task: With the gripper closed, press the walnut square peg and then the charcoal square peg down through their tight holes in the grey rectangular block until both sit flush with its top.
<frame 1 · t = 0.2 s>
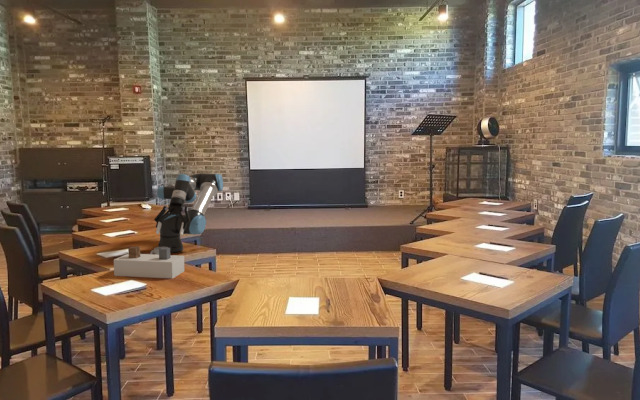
hand: (169, 234, 258), 16 cm above the table, tool tilted 35°, fingers open, 13 cm apart
grey rectangular block: (150, 273, 238), on the table
cup: (159, 264, 256), on the table
walnut peg: (134, 260, 238), point 6 cm above the table, slide at 0.0 cm
charcoal peg: (164, 262, 236), point 6 cm above the table, slide at 0.0 cm
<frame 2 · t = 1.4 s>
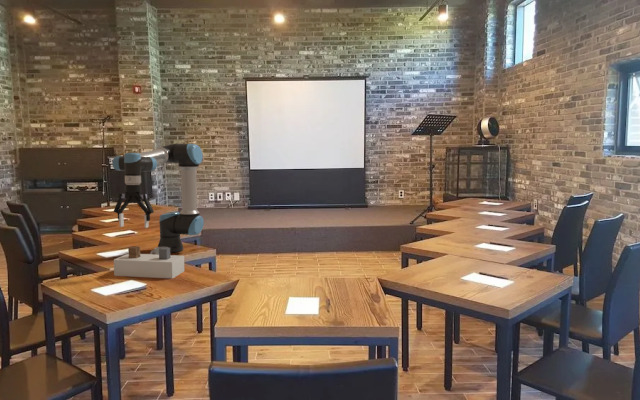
hand: (134, 227, 237), 23 cm above the table, tool pointing down, fingers open, 12 cm apart
nothing on the table moved.
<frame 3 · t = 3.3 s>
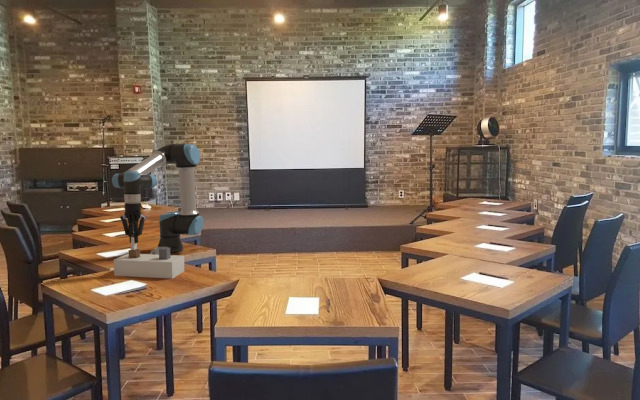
hand: (134, 249, 237), 12 cm above the table, tool pointing down, fingers closed
walnut peg: (134, 263, 238), point 5 cm above the table, slide at 1.3 cm, touching gripper
everything else where it was.
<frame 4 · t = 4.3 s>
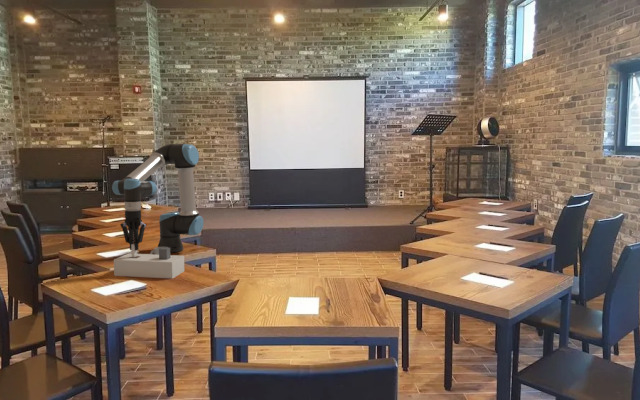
hand: (134, 256, 238), 8 cm above the table, tool pointing down, fingers closed
walnut peg: (135, 270, 239), point 1 cm above the table, slide at 5.0 cm, touching gripper
everything else where it was.
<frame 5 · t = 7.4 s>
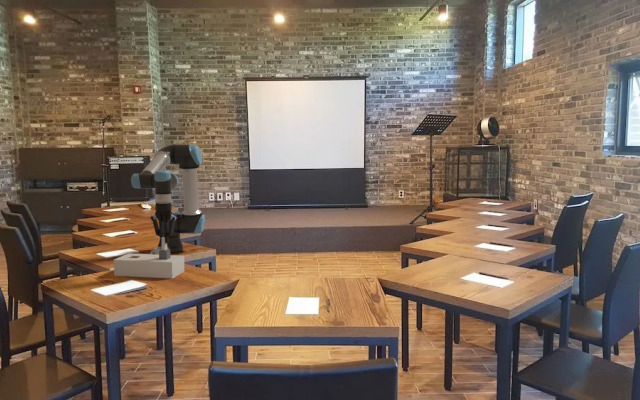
hand: (164, 249, 235), 12 cm above the table, tool pointing down, fingers closed
walnut peg: (135, 270, 239), point 1 cm above the table, slide at 5.0 cm
charcoal peg: (164, 264, 236), point 5 cm above the table, slide at 0.9 cm, touching gripper
everything else where it was.
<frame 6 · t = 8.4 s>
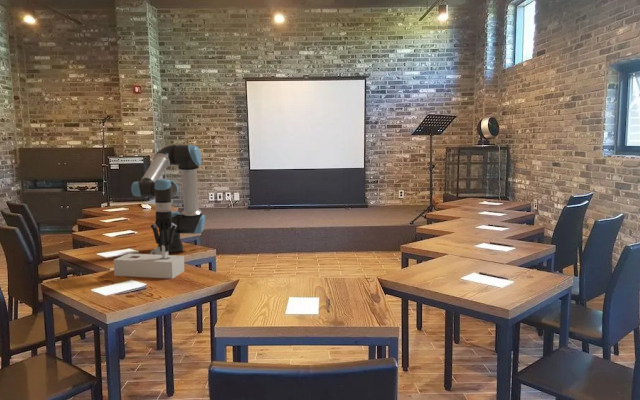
hand: (164, 257, 236), 8 cm above the table, tool pointing down, fingers closed
charcoal peg: (165, 272, 237), point 1 cm above the table, slide at 5.0 cm, touching gripper
everything else where it was.
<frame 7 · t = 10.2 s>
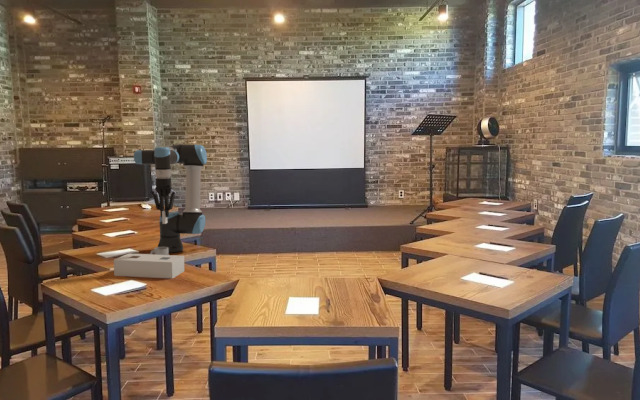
hand: (165, 223, 245), 24 cm above the table, tool pointing down, fingers closed
charcoal peg: (165, 272, 237), point 1 cm above the table, slide at 5.0 cm
everything else where it was.
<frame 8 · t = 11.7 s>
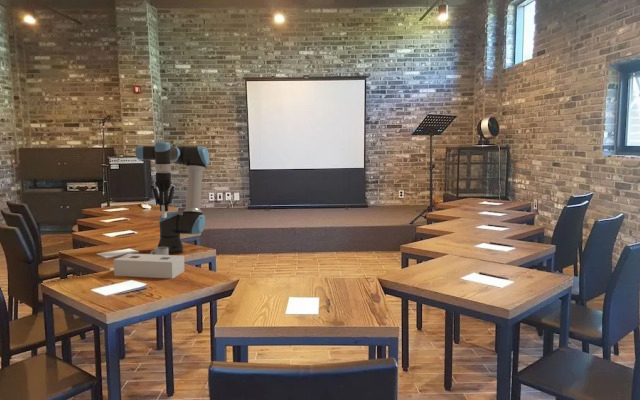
hand: (164, 217, 247), 26 cm above the table, tool pointing down, fingers closed
nothing on the table moved.
at the end: walnut peg slide at 5.0 cm; charcoal peg slide at 5.0 cm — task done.
